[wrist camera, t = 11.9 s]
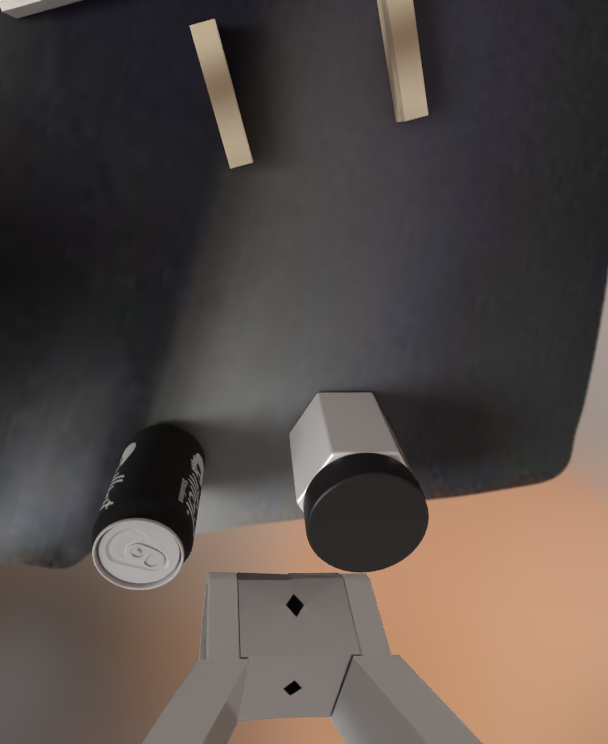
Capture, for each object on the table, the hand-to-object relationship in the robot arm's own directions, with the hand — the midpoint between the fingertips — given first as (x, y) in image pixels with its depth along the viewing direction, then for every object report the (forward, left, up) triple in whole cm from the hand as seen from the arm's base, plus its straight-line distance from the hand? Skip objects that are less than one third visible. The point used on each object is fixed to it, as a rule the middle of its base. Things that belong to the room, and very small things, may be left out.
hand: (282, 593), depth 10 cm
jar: (+10, -14, -32) cm, 36 cm away
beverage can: (-4, -19, -32) cm, 37 cm away
